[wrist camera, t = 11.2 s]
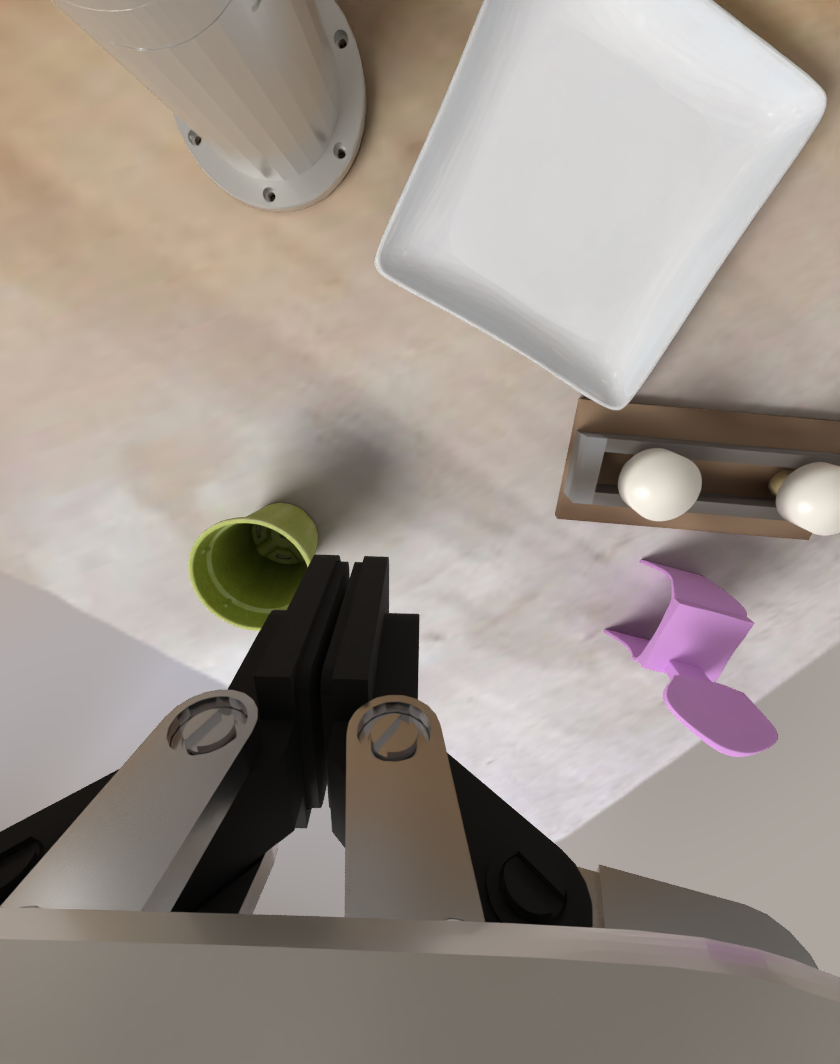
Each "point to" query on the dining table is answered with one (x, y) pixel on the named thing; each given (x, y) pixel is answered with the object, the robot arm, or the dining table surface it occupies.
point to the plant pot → (252, 563)
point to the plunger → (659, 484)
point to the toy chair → (702, 664)
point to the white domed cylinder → (809, 497)
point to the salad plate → (595, 177)
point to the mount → (712, 445)
